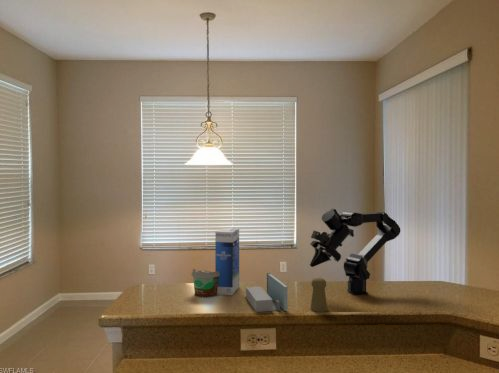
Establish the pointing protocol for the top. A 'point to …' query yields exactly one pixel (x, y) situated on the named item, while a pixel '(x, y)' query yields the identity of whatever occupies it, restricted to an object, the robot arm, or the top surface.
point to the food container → (205, 283)
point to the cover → (277, 291)
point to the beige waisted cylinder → (318, 295)
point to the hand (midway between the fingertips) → (310, 266)
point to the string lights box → (227, 260)
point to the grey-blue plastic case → (261, 299)
